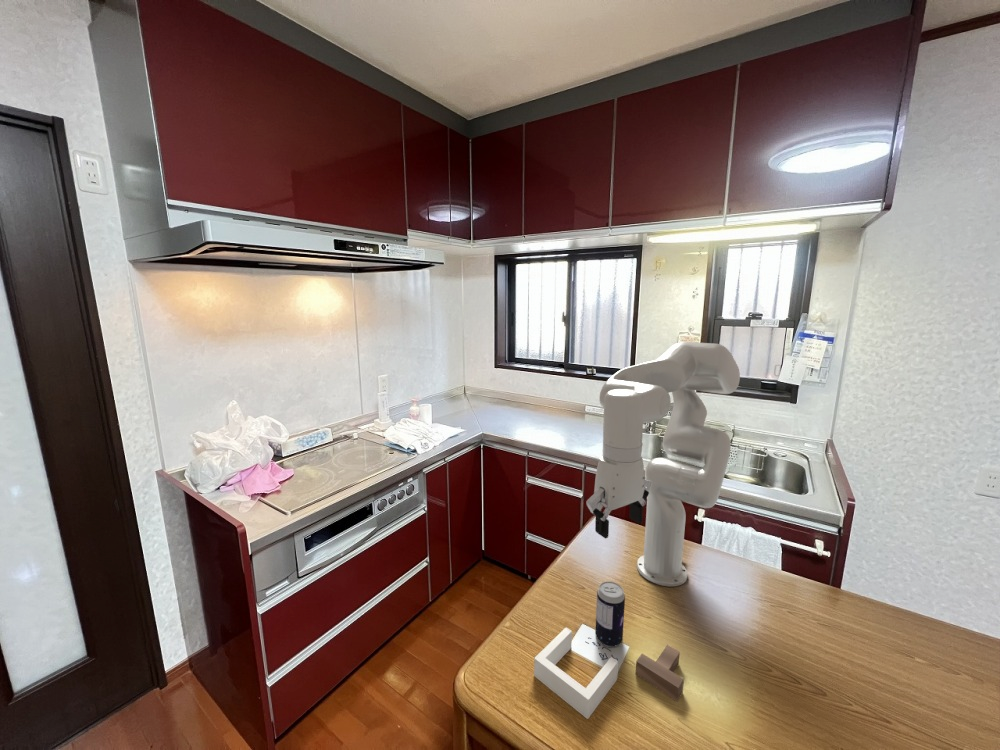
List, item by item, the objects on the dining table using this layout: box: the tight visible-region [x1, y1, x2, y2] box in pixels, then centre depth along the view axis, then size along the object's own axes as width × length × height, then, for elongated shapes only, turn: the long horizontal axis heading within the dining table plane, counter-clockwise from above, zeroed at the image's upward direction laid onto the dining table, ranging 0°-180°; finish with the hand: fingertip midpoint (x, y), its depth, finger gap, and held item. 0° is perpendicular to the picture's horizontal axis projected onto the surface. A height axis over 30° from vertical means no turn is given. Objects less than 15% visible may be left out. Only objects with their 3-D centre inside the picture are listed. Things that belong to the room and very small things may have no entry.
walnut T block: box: [635, 644, 685, 703], centre depth 79 cm, size 8×8×3 cm
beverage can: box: [594, 581, 626, 648], centre depth 86 cm, size 6×6×12 cm
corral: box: [533, 626, 619, 720], centre depth 78 cm, size 10×12×4 cm
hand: (619, 527), depth 85 cm, fingers open, 9 cm apart
